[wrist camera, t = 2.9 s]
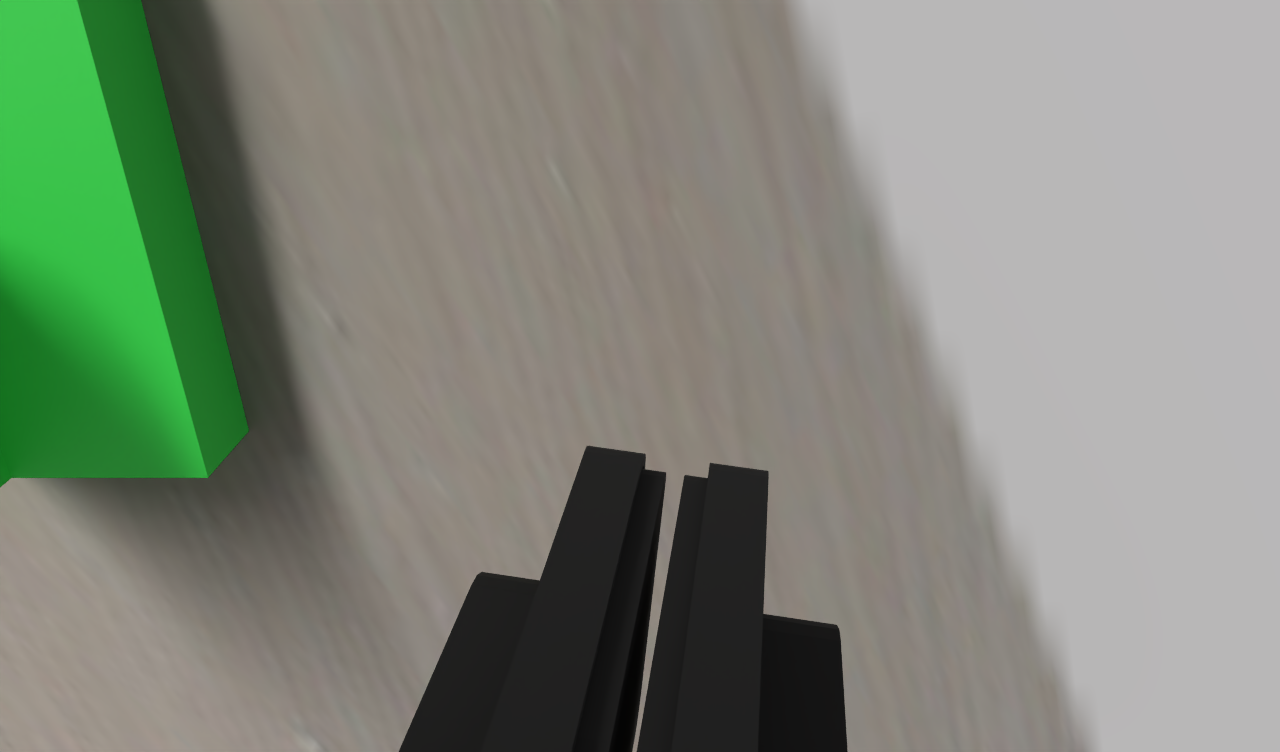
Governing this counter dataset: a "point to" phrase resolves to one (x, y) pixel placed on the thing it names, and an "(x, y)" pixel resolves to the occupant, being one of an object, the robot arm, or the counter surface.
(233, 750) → the counter surface
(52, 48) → the mechanical part
